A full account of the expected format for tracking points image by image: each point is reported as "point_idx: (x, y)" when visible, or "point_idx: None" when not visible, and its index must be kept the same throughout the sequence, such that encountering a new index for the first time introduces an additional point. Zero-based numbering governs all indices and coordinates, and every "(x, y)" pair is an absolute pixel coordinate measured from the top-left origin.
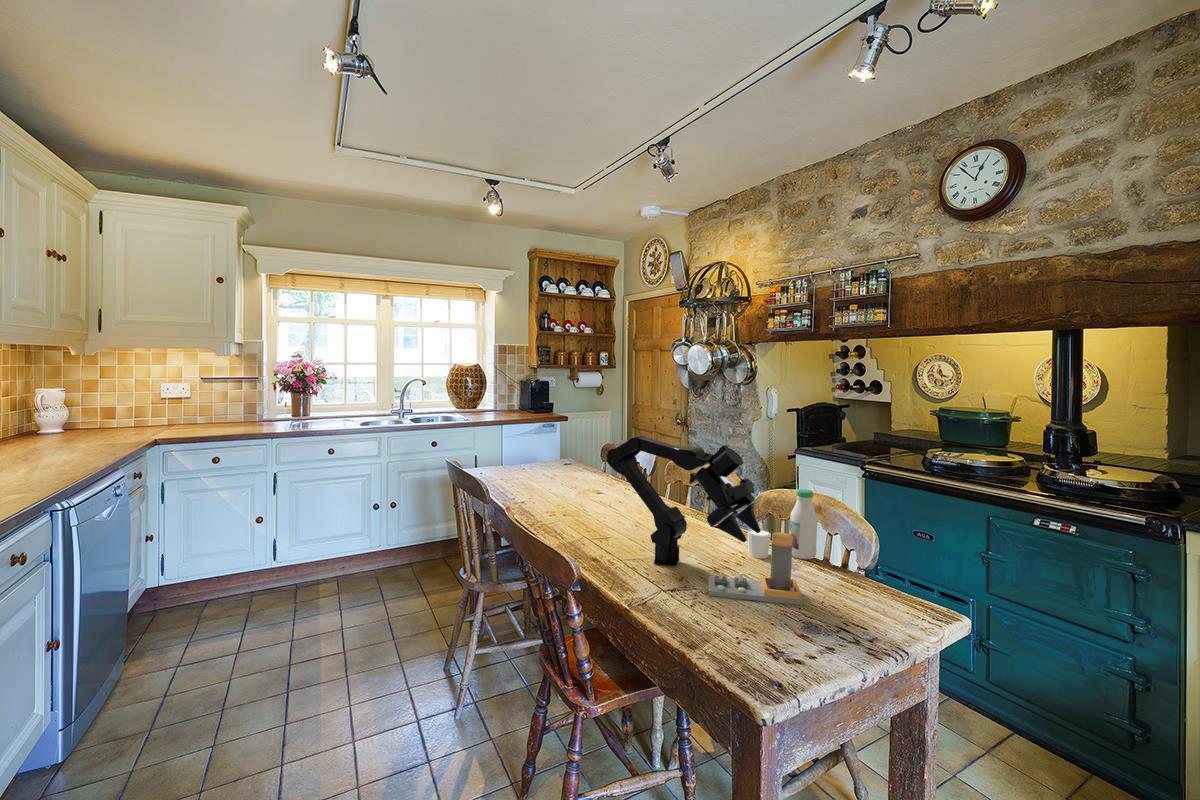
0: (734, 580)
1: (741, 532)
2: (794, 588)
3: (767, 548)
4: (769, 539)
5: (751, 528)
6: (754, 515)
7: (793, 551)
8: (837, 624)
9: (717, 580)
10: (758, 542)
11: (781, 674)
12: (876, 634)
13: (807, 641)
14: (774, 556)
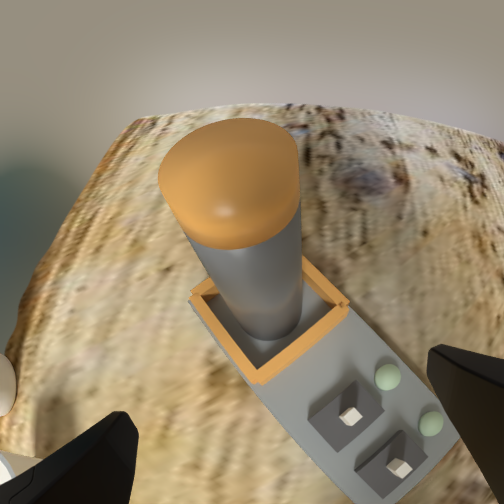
0: (351, 440)
1: (494, 363)
2: None
3: (31, 459)
4: (6, 452)
5: (130, 487)
6: (13, 481)
7: (4, 396)
8: None
9: (414, 460)
10: None
11: (491, 159)
12: None
13: (406, 168)
14: (300, 246)
